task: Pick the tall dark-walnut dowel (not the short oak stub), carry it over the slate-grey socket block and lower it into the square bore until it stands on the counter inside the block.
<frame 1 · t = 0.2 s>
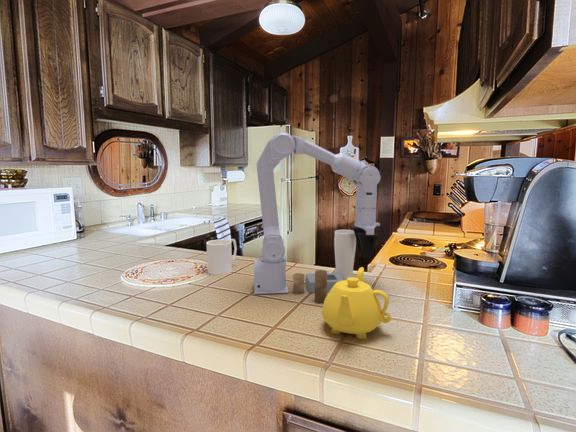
hand: (364, 254, 99), 10 cm above the countertop, fingers open, 7 cm apart
oak stub: (298, 292, 97), on the countertop
cup: (224, 270, 118), on the countertop
teapot: (355, 329, 75), on the countertop
socket block: (324, 287, 101), on the countertop
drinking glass: (344, 278, 109), on the countertop
walnut dowel: (320, 301, 91), on the countertop
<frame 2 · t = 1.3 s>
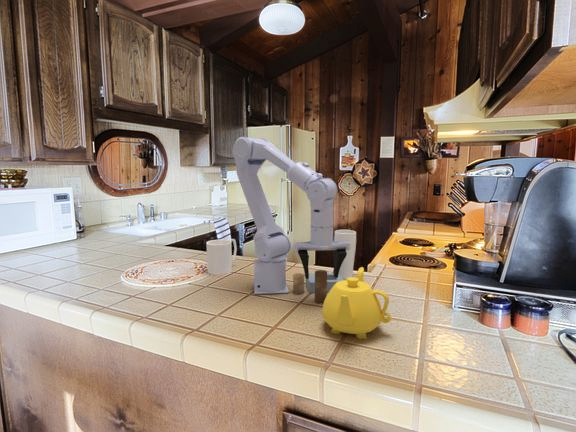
hand: (321, 277, 90), 7 cm above the countertop, fingers open, 7 cm apart
nothing on the countertop moved.
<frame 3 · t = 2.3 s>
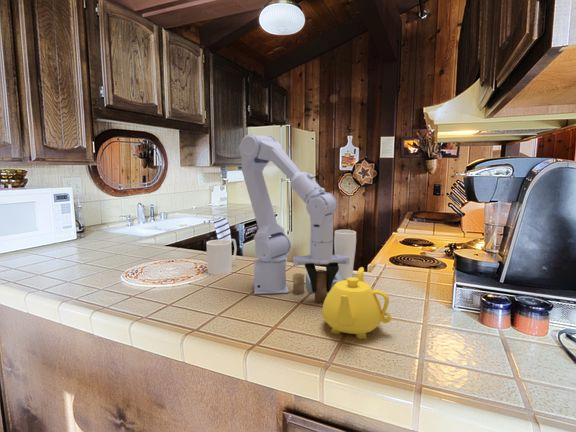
hand: (320, 290, 90), 3 cm above the countertop, fingers closed on walnut dowel, 3 cm apart
walnut dowel: (320, 301, 91), on the countertop, touching gripper
everything else where it was.
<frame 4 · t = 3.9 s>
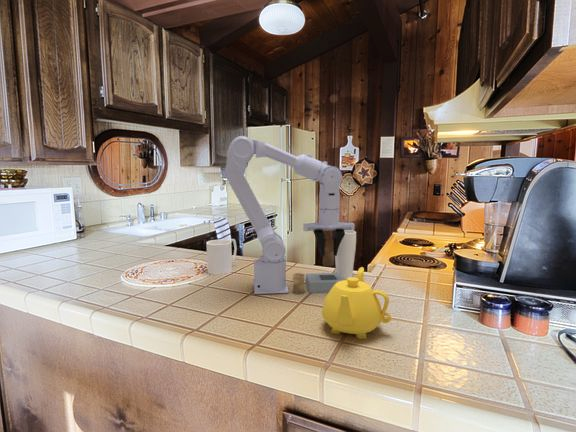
hand: (328, 254, 99), 10 cm above the countertop, fingers closed on walnut dowel, 3 cm apart
walnut dowel: (328, 264, 100), point 7 cm above the countertop, touching gripper
everything else where it was.
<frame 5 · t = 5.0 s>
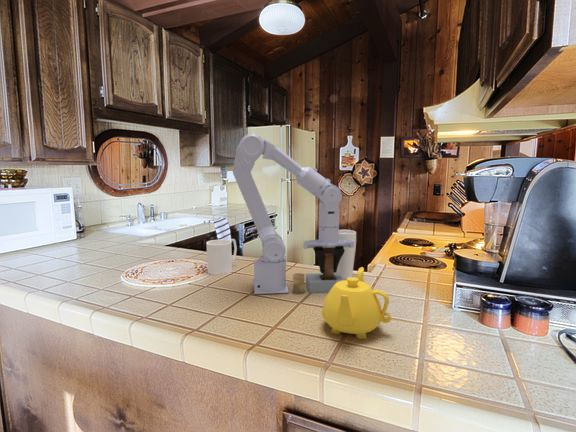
hand: (328, 271, 100), 5 cm above the countertop, fingers closed on walnut dowel, 3 cm apart
walnut dowel: (328, 281, 100), point 2 cm above the countertop, touching gripper
everything else where it was.
when the fingers open (4 cm above the countertop, at t = 5.6 s): walnut dowel drops 1 cm, resting in socket block.
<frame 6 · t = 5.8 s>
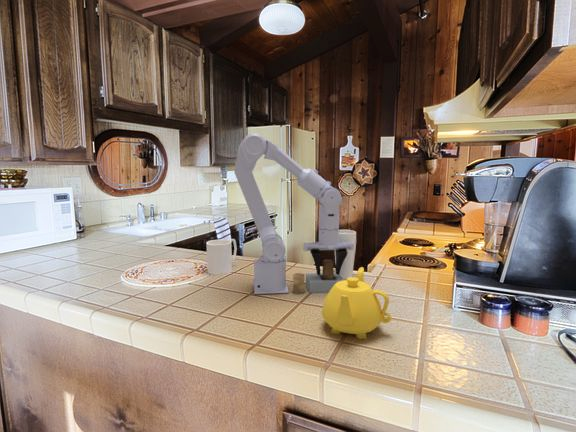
hand: (328, 274, 100), 4 cm above the countertop, fingers open, 5 cm apart
walnut dowel: (327, 287, 101), resting in socket block
everything else where it was.
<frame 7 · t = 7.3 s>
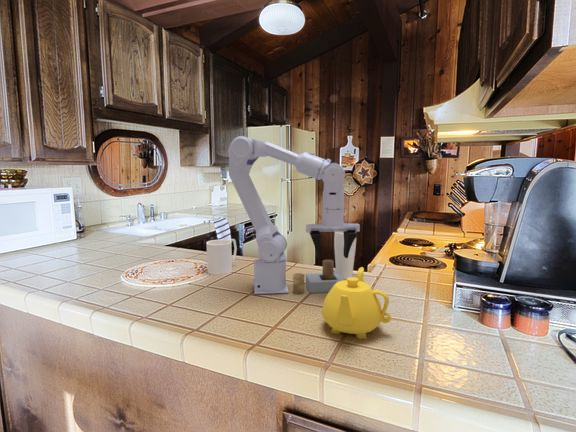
hand: (332, 257, 94), 10 cm above the countertop, fingers open, 7 cm apart
nothing on the countertop moved.
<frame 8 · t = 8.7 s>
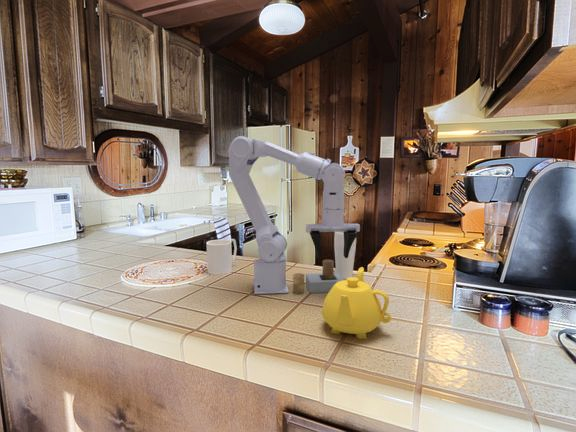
hand: (332, 257, 94), 10 cm above the countertop, fingers open, 7 cm apart
nothing on the countertop moved.
at the end: walnut dowel 0.2 cm from the target spot on the socket block, point 0.0 cm above the socket block's base; walnut dowel tilted 0°; oak stub moved 0.0 cm from its start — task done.
